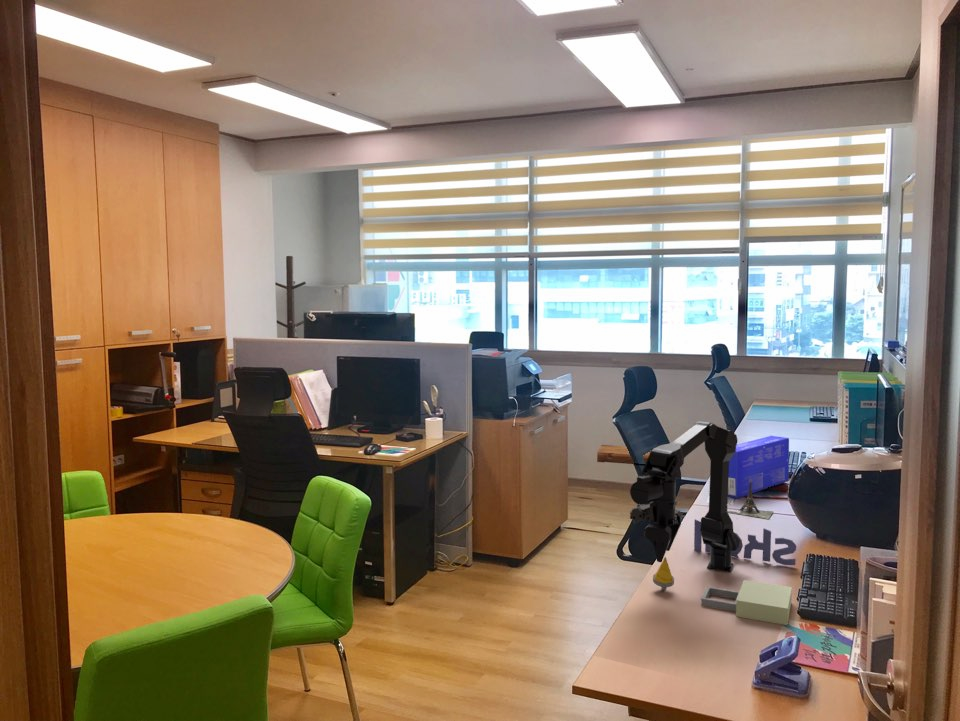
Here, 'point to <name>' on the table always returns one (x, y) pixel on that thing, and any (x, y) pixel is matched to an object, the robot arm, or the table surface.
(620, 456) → the brown wooden slab
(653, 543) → the robot arm
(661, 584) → the yellow cone shape
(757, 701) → the table surface
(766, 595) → the green box with handle
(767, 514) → the eiffel tower figurine
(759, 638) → the table surface
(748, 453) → the toner cartridge box
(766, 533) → the signage
